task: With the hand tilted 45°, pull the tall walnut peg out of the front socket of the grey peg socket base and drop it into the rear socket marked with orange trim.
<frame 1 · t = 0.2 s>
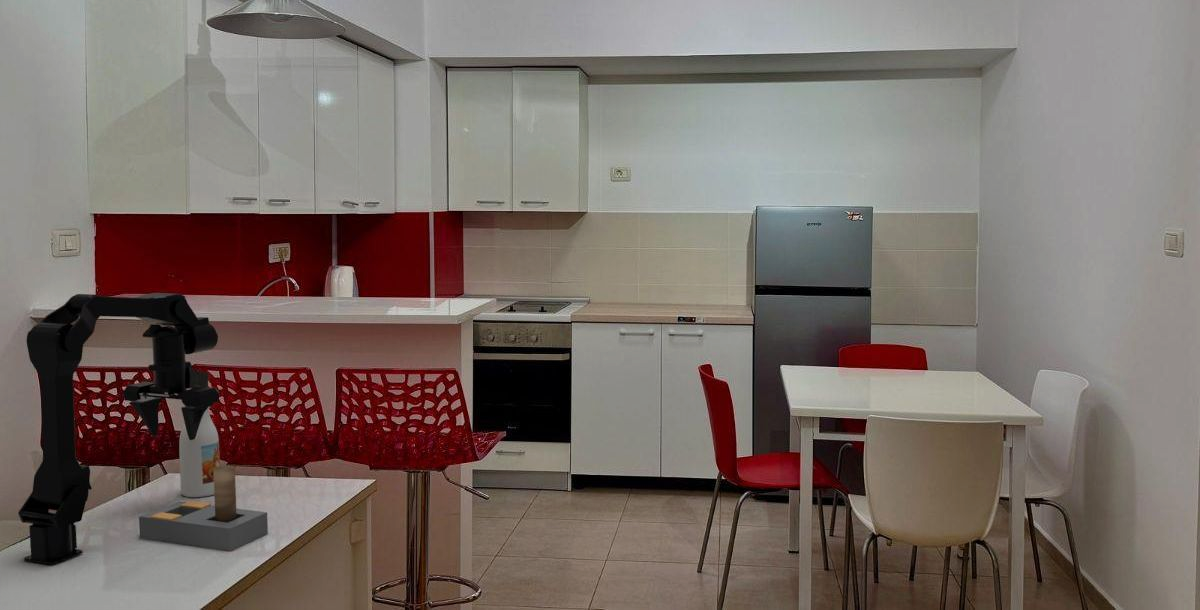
hand: (173, 437, 199), 15 cm above the table, tool pointing down, fingers open, 9 cm apart
milk bottle: (201, 493, 213), on the table
walnut peg: (226, 539, 184), resting in grey peg socket base
grey peg socket base: (204, 535, 186), on the table
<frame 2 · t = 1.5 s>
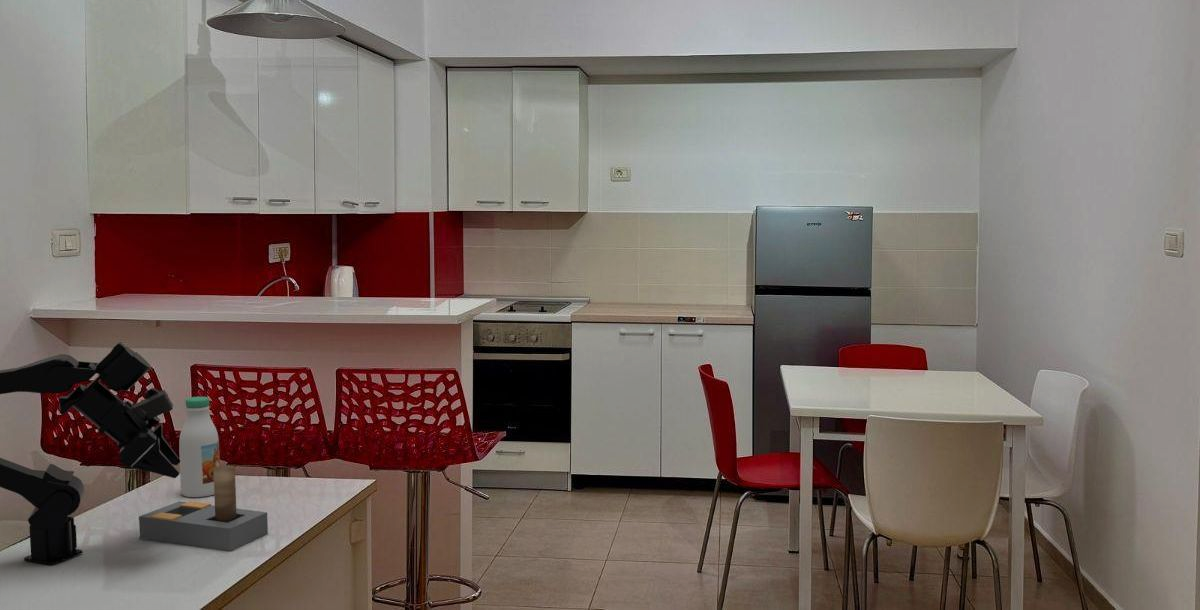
hand: (178, 469, 180), 13 cm above the table, tool tilted 45°, fingers open, 9 cm apart
nothing on the table moved.
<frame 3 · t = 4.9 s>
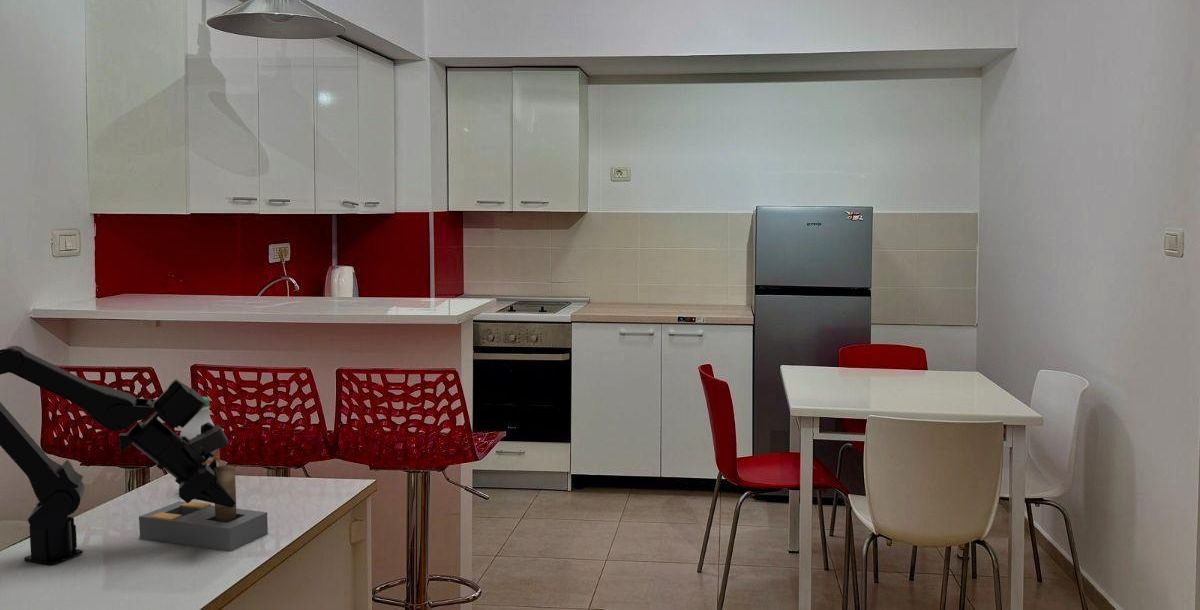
hand: (233, 502, 184), 7 cm above the table, tool tilted 45°, fingers closed on walnut peg, 4 cm apart
walnut peg: (226, 539, 184), resting in grey peg socket base, touching gripper
everything else where it was.
when the fingers open (8 cm above the table, at t = 9.7 s): walnut peg drops 1 cm, resting in grey peg socket base.
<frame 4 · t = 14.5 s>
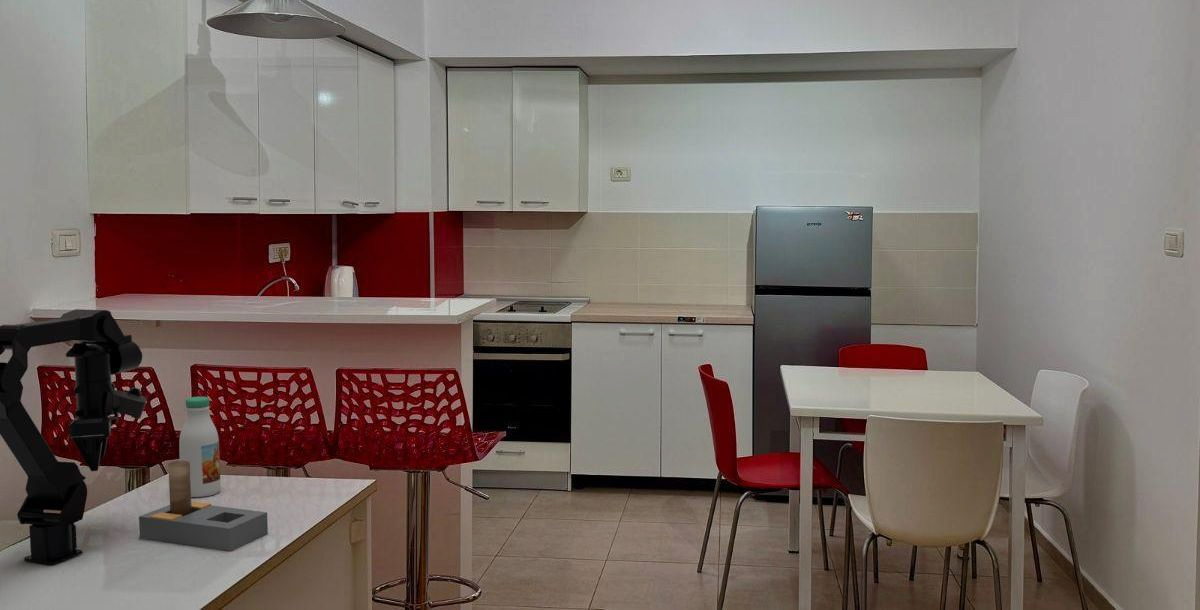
hand: (97, 464, 185), 13 cm above the table, tool pointing down, fingers open, 9 cm apart
walnut peg: (181, 532, 187), resting in grey peg socket base
everything else where it was.
at the end: walnut peg 0.1 cm from the target spot on the grey peg socket base, point 0.0 cm above the grey peg socket base's base; walnut peg tilted 0°; the gripper is holding nothing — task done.
